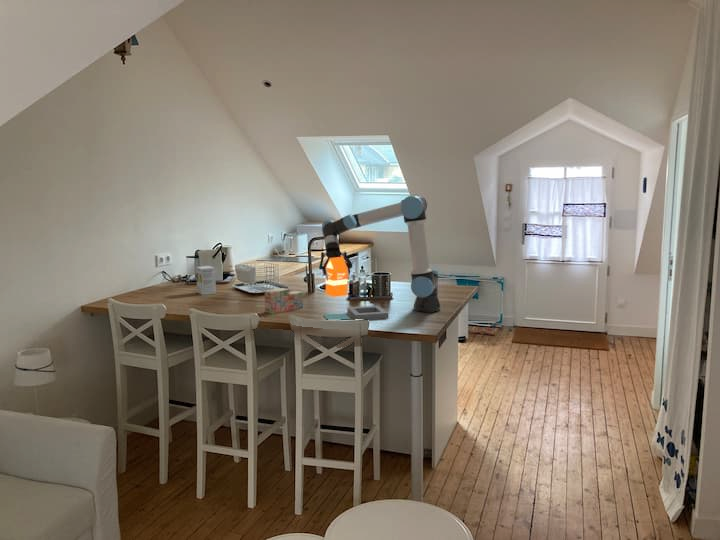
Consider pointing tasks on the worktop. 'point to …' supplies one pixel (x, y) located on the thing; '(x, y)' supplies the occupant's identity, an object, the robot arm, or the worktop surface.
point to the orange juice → (336, 277)
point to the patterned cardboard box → (282, 300)
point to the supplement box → (206, 280)
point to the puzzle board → (367, 312)
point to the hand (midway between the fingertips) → (338, 278)
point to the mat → (336, 316)
